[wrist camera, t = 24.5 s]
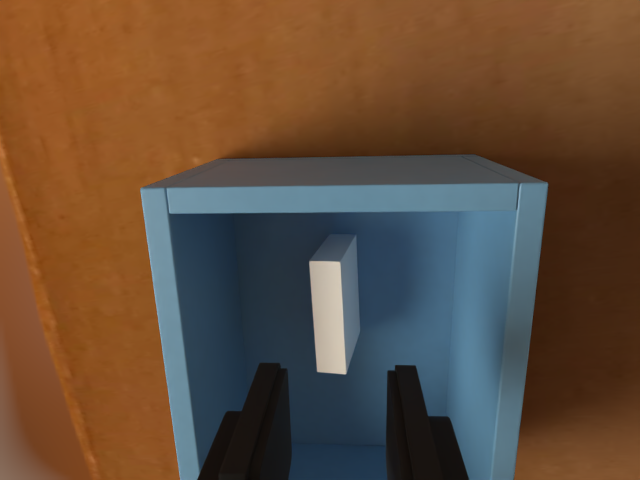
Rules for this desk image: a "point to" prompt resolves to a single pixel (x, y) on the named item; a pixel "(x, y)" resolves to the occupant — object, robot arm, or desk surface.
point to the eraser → (335, 302)
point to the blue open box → (374, 299)
